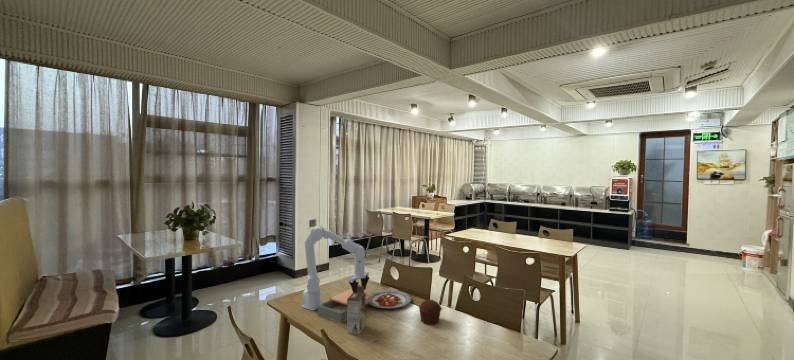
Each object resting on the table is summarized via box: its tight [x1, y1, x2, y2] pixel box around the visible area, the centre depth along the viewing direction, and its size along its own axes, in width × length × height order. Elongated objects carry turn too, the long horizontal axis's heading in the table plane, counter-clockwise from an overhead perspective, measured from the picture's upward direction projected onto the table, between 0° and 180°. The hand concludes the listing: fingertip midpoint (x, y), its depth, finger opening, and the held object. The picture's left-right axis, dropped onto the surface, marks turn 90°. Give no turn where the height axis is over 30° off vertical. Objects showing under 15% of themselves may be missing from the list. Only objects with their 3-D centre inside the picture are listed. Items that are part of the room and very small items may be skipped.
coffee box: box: [346, 292, 367, 335], centre depth 158 cm, size 9×6×16 cm
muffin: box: [418, 299, 443, 326], centre depth 167 cm, size 12×11×10 cm
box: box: [317, 299, 347, 324], centre depth 174 cm, size 16×16×5 cm
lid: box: [329, 284, 373, 305], centre depth 182 cm, size 17×17×5 cm
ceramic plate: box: [366, 289, 412, 309], centre depth 190 cm, size 26×26×3 cm
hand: (359, 291), depth 187 cm, fingers open, 7 cm apart
